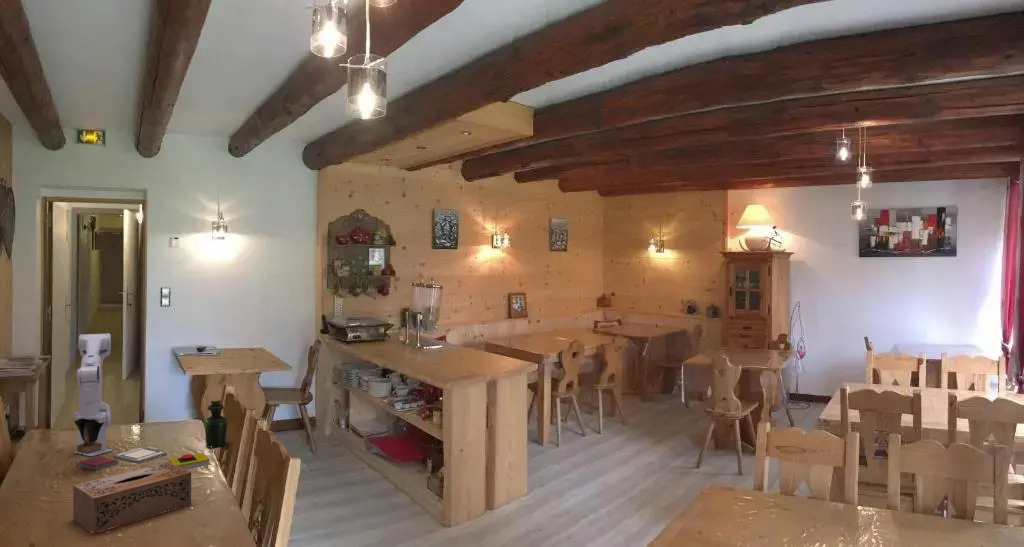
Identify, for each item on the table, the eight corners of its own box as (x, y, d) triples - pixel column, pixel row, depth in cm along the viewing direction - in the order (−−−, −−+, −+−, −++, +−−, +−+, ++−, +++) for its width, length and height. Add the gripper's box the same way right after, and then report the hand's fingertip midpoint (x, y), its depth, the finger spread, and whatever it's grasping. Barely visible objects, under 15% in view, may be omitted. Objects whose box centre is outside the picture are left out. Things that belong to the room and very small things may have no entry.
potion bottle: (202, 449, 239) (202, 402, 238) (206, 443, 247) (206, 397, 246) (225, 448, 241) (225, 401, 240) (228, 442, 249) (229, 397, 248)
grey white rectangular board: (112, 457, 228) (112, 453, 228) (141, 449, 238) (141, 444, 238) (138, 463, 222) (138, 459, 222) (166, 454, 232) (166, 450, 232)
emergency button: (163, 455, 220) (209, 447, 229) (163, 468, 220) (209, 459, 229) (169, 463, 212) (216, 454, 222) (169, 475, 213) (216, 466, 222)
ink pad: (76, 466, 218) (76, 462, 218) (99, 459, 226) (99, 455, 226) (94, 470, 214) (94, 466, 214) (117, 463, 222) (117, 459, 222)
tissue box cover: (168, 493, 197) (168, 461, 197) (191, 505, 188) (191, 472, 188) (73, 520, 176) (73, 485, 176) (93, 535, 168) (93, 498, 167)
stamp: (77, 451, 213) (77, 427, 213) (91, 447, 218) (91, 424, 218) (87, 453, 211) (87, 429, 211) (101, 449, 216) (101, 425, 216)
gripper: (63, 401, 213) (64, 440, 214) (91, 406, 207) (91, 447, 208) (85, 396, 220) (85, 435, 220) (112, 401, 214) (112, 441, 214)
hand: (89, 440), depth 215 cm, fingers closed on stamp, 3 cm apart
